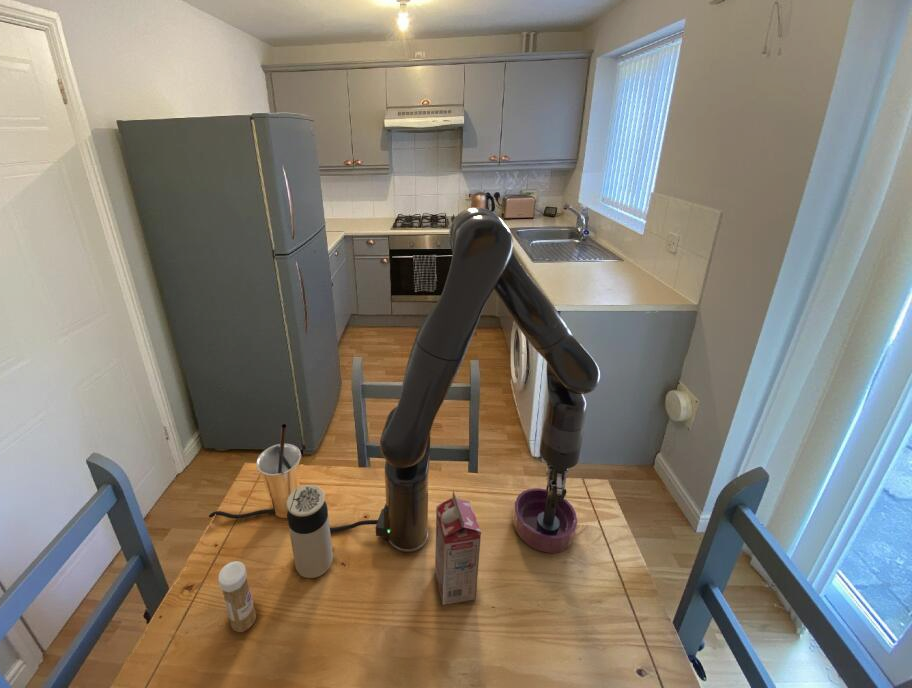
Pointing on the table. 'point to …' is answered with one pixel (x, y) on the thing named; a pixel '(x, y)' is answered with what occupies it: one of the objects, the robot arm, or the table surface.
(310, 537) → the travel mug
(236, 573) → the sprinkles bottle
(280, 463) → the metal cup with straw
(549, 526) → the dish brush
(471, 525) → the juice carton
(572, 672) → the table surface
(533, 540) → the bowl
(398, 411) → the robot arm
